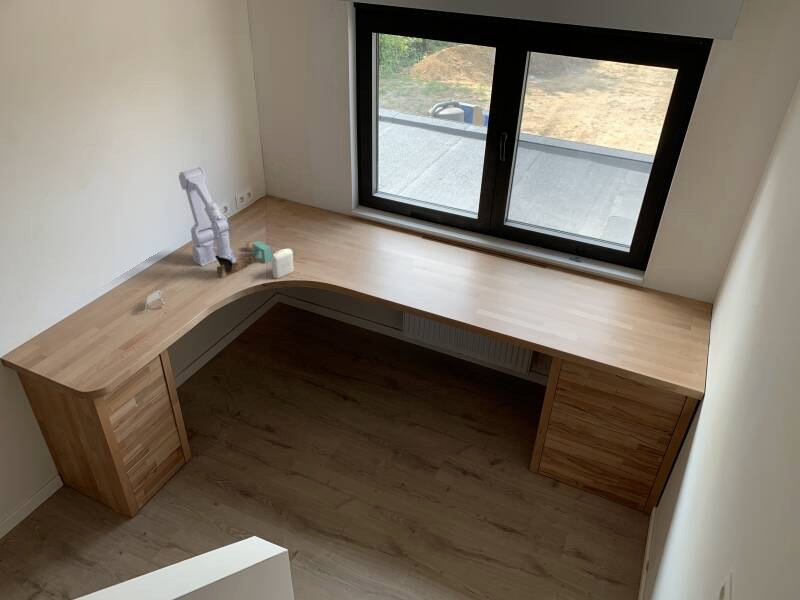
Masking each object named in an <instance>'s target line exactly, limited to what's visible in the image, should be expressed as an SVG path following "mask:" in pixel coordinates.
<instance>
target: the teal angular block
mask: <svg viewBox="0 0 800 600" xmlns="http://www.w3.org/2000/svg"><path fill="white" fill-rule="evenodd" d="M253 242H254V243H252V248H253V252H252V254H253V256H252V257H253V258H259V257H261V259H262V262H263V263H264V264H266V263H269V262H272V255H273V254H272V248H271V246H269V245H267V244H266V243H264V242H262V241H261V240H257V241H253Z"/></svg>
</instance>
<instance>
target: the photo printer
mask: <svg viewBox="0 0 800 600" xmlns="http://www.w3.org/2000/svg"><path fill="white" fill-rule="evenodd" d="M271 255H272V260H271V268H272V269H271V270H272V275H273V278H274V279H281V278H283V277H285V276H287V275H290V274H292V273H293V272H294V271H295V269H294V253H293V250H292V249H290V248H283V249H280V250H278V251H276V252H275V253H273V254H271Z"/></svg>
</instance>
